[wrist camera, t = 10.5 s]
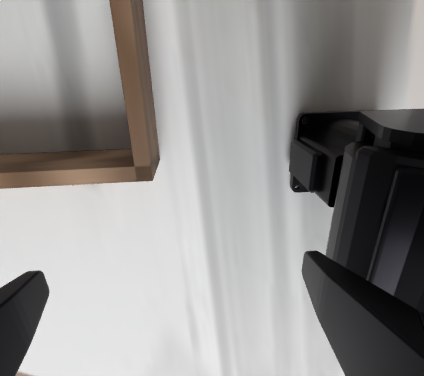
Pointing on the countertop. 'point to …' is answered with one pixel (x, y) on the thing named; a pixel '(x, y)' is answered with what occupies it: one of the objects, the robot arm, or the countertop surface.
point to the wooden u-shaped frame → (136, 115)
